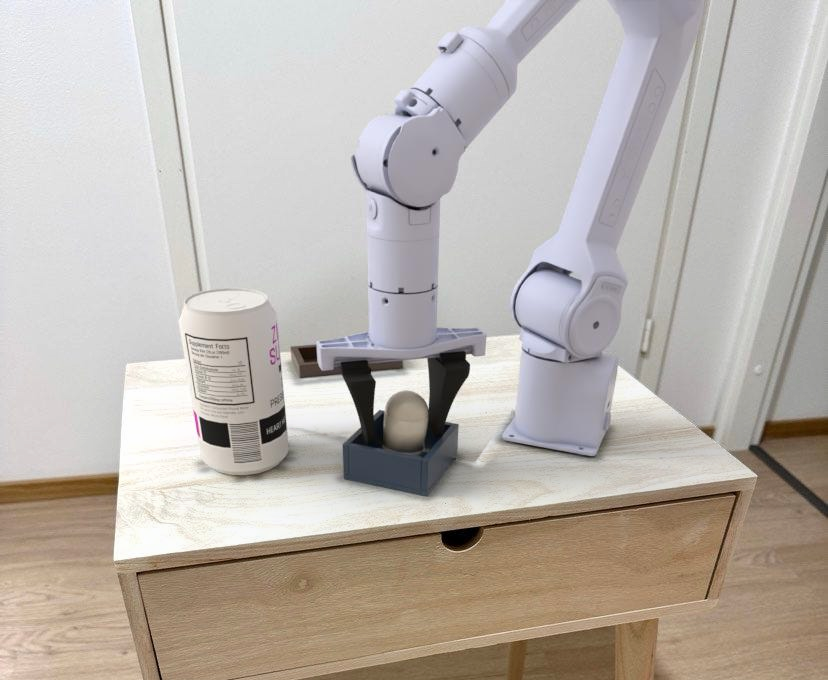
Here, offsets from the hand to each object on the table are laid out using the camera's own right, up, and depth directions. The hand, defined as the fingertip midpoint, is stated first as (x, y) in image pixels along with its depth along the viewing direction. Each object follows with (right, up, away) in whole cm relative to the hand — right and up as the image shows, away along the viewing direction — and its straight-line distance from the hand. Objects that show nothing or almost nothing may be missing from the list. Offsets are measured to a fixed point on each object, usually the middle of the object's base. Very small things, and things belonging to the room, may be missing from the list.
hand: (402, 436), depth 69 cm
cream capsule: (0, -2, +1) cm, 3 cm away
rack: (-7, +12, +23) cm, 27 cm away
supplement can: (-15, -2, +3) cm, 15 cm away
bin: (0, -3, +2) cm, 3 cm away
